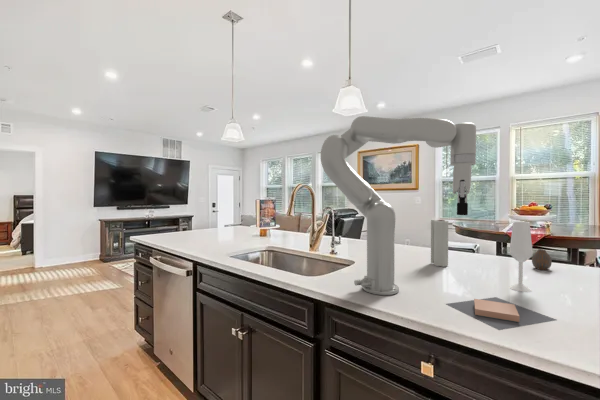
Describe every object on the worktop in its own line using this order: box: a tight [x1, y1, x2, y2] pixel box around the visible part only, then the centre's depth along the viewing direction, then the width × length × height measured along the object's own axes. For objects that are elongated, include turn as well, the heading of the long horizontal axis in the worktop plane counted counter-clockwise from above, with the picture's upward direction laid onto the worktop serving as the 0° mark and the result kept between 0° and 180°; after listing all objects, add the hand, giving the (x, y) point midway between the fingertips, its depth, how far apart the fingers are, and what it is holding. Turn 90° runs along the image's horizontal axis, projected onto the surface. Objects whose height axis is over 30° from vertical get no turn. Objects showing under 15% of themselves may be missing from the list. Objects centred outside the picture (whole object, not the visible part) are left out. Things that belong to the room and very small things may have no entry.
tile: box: [473, 298, 519, 322], centre depth 84 cm, size 10×2×9 cm
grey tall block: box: [430, 219, 449, 267], centre depth 141 cm, size 7×6×21 cm
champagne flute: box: [508, 220, 534, 293], centre depth 106 cm, size 7×7×24 cm
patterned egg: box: [531, 248, 552, 271], centre depth 134 cm, size 7×7×9 cm
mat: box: [445, 296, 557, 331], centre depth 86 cm, size 20×18×1 cm
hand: (462, 214), depth 101 cm, fingers closed
